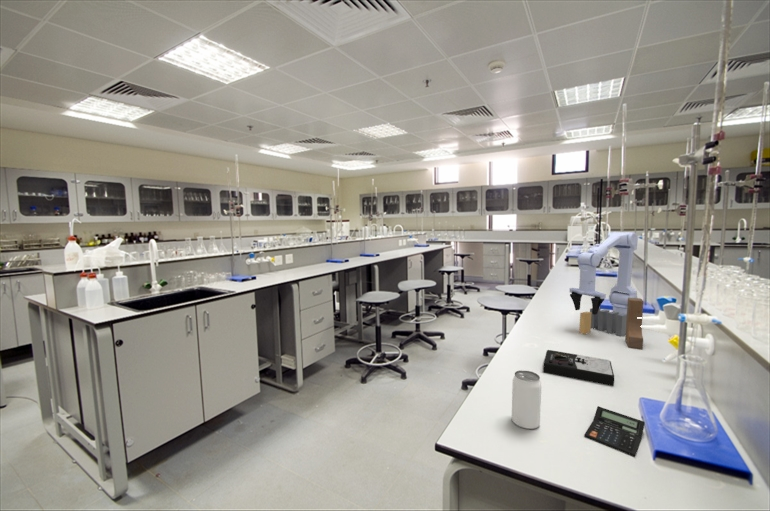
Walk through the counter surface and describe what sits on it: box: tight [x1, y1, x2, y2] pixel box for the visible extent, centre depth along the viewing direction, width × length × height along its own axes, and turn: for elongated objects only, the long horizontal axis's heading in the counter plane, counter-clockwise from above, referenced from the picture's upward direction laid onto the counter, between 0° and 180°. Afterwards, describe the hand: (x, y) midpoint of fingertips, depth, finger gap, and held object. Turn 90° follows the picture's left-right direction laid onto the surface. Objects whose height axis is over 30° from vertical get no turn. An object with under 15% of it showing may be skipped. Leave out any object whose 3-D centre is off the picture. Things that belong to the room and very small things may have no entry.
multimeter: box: [542, 349, 615, 387], centre depth 108 cm, size 13×19×5 cm
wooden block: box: [624, 297, 644, 350], centre depth 129 cm, size 9×4×18 cm, turn 150°
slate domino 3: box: [606, 310, 619, 335], centre depth 144 cm, size 5×2×9 cm, turn 118°
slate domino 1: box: [589, 307, 602, 330], centre depth 151 cm, size 5×2×9 cm, turn 118°
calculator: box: [583, 405, 646, 458], centre depth 76 cm, size 9×12×3 cm
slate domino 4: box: [615, 313, 627, 338], centre depth 141 cm, size 5×2×9 cm, turn 118°
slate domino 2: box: [597, 309, 611, 332], centre depth 147 cm, size 5×2×9 cm, turn 118°
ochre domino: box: [578, 311, 592, 335], centre depth 144 cm, size 5×2×9 cm, turn 118°
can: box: [511, 369, 542, 430], centre depth 80 cm, size 6×6×12 cm
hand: (585, 311), depth 141 cm, fingers open, 7 cm apart
